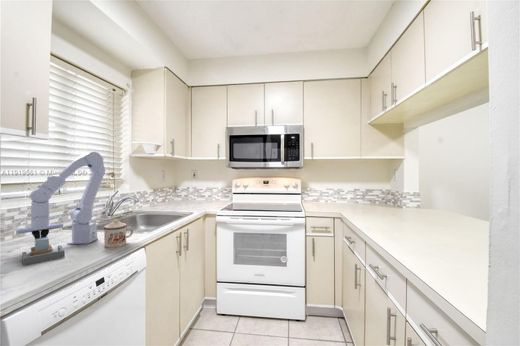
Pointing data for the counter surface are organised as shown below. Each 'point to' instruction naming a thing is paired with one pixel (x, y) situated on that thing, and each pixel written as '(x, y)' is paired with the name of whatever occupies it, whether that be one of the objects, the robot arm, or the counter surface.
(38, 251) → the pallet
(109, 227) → the teacup with lid
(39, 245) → the pale blue cube
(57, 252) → the dock
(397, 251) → the counter surface
